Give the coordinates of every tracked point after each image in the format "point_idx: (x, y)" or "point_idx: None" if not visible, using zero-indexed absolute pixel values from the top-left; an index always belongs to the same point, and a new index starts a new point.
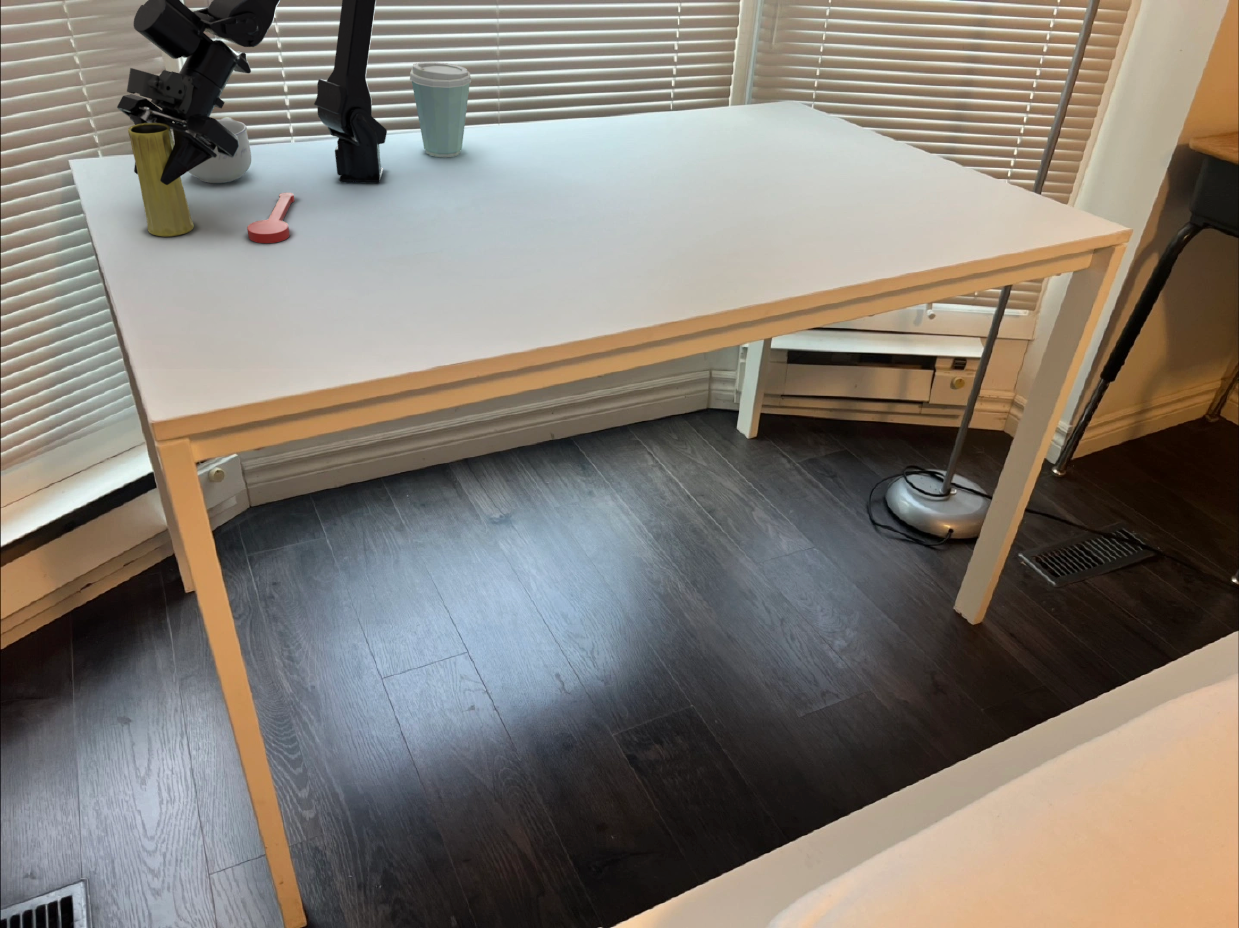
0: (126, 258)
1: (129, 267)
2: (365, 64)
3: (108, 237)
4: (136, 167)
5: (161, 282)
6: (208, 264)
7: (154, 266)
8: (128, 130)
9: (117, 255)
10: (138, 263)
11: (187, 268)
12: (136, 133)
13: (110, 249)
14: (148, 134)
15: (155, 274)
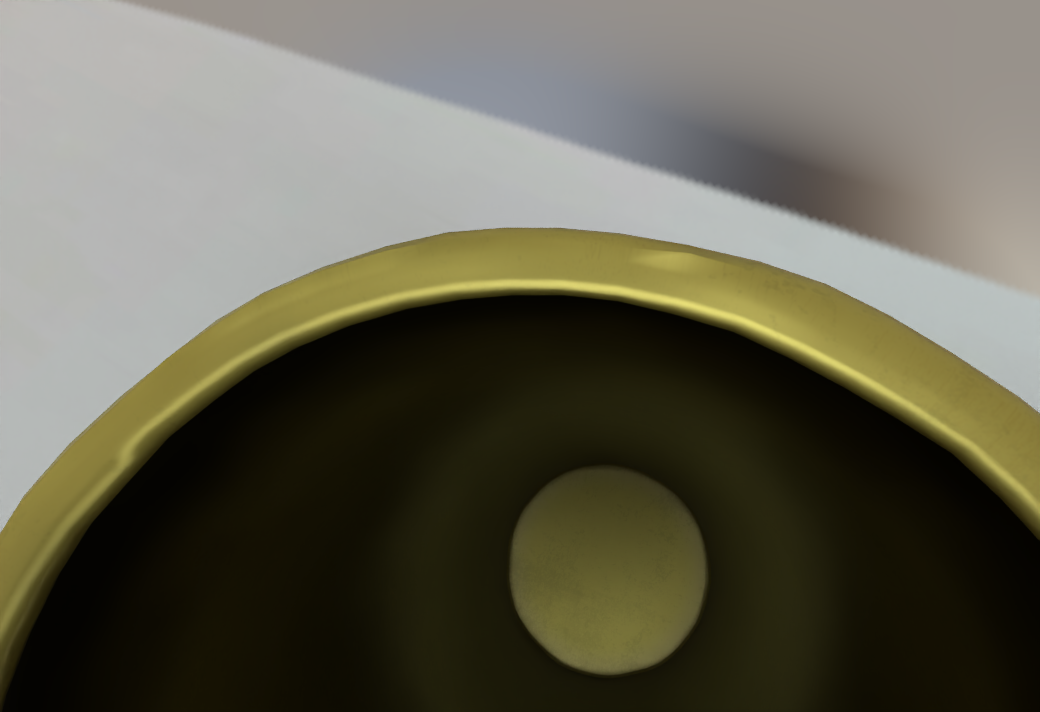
0: (398, 174)
1: (291, 137)
2: None
3: (736, 232)
4: None
5: (48, 166)
6: (45, 430)
7: (216, 227)
8: (746, 262)
9: (464, 158)
10: (302, 188)
11: (83, 329)
12: (280, 291)
13: (562, 166)
14: (4, 528)
15: (137, 187)
